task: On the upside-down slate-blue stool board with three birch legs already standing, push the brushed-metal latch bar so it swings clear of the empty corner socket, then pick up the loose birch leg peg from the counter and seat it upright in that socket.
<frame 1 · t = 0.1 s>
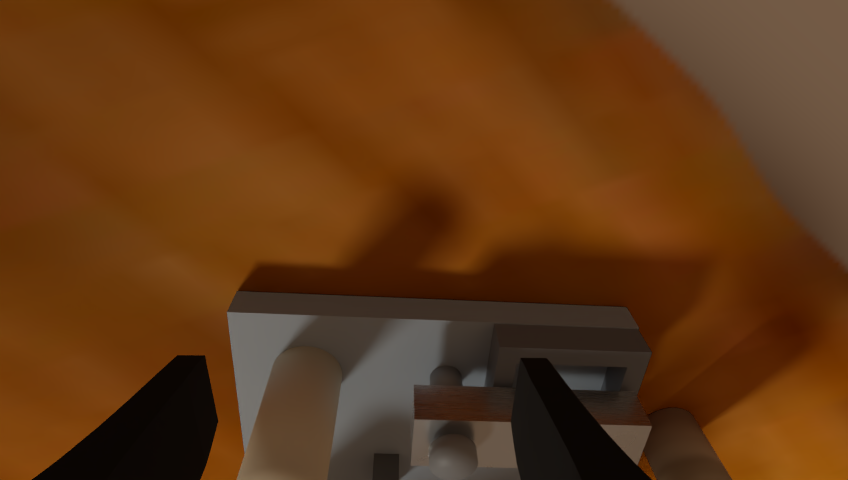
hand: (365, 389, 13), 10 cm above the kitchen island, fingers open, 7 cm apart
board: (423, 422, 27), on the kitchen island
leg peg: (665, 429, 28), on the kitchen island
latch bar: (524, 427, 22), point 4 cm above the kitchen island, hinge at 0.0°
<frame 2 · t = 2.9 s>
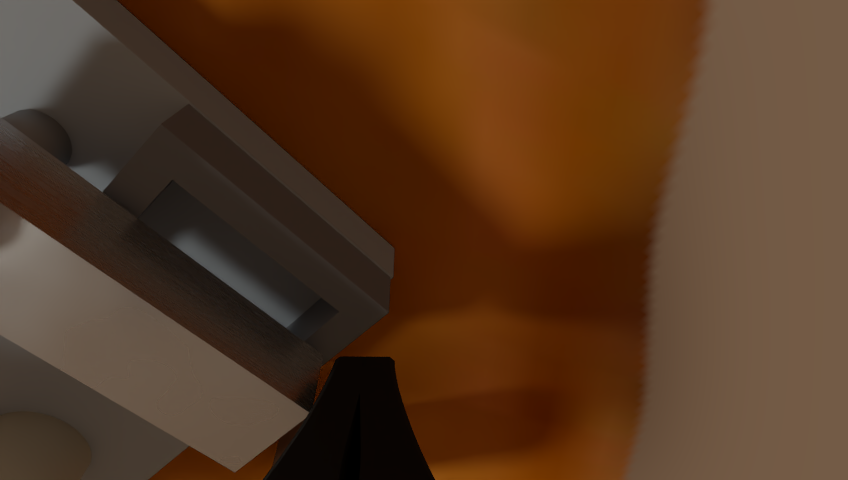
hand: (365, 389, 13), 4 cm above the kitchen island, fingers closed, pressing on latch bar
leg peg: (321, 449, 19), on the kitchen island
latch bar: (100, 292, 11), point 4 cm above the kitchen island, hinge at 0.0°, touching gripper
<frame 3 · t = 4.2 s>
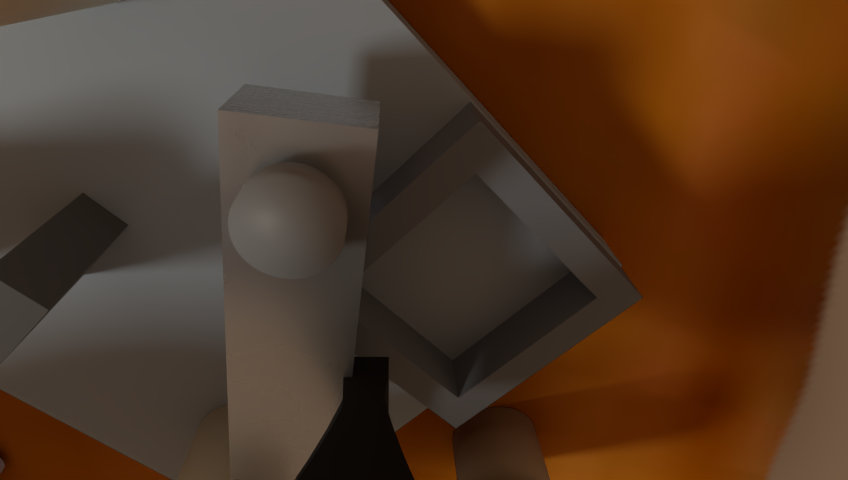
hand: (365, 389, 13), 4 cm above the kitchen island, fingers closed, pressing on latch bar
board: (201, 216, 15), on the kitchen island
leg peg: (493, 437, 20), on the kitchen island
latch bar: (298, 316, 11), point 4 cm above the kitchen island, hinge at 51.7°, touching gripper
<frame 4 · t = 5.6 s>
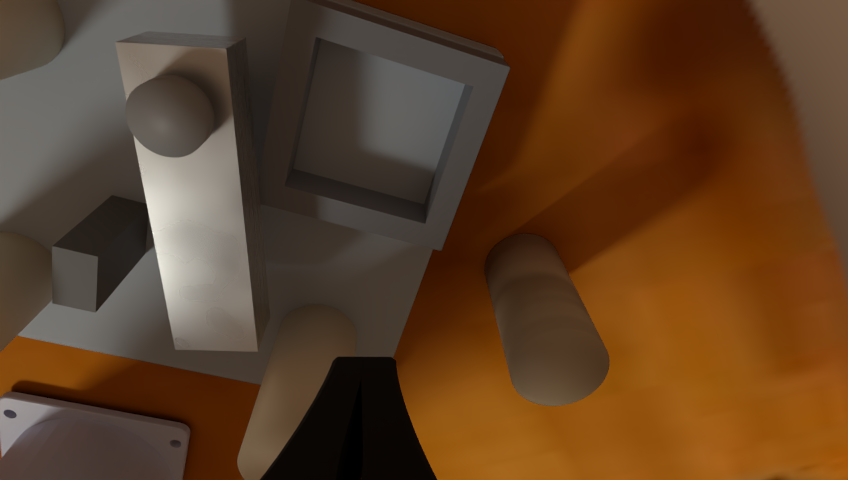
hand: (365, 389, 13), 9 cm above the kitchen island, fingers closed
board: (202, 183, 20), on the kitchen island
leg peg: (521, 266, 22), on the kitchen island
latch bar: (207, 206, 15), point 4 cm above the kitchen island, hinge at 76.1°
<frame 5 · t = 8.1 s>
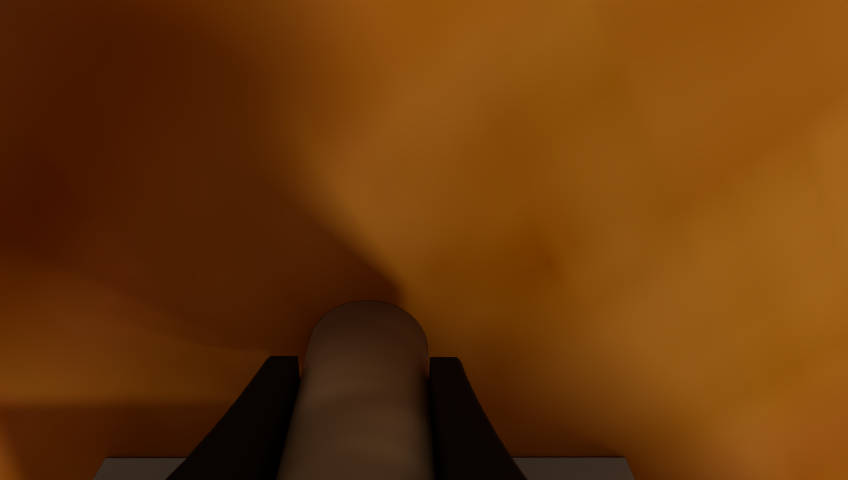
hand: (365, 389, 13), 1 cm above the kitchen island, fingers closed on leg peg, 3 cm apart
leg peg: (368, 349, 14), on the kitchen island, touching gripper
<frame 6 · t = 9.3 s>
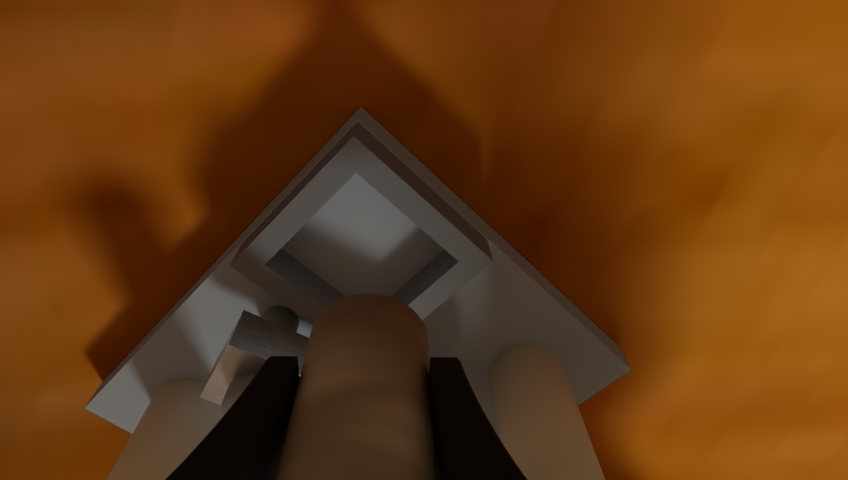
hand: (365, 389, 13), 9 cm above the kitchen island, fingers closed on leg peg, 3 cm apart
board: (359, 364, 24), on the kitchen island
leg peg: (369, 342, 14), point 7 cm above the kitchen island, touching gripper
latch bar: (344, 402, 19), point 4 cm above the kitchen island, hinge at 76.3°
when the fingers open (4 cm above the kitchen island, at t = 10.6 s): leg peg stays where it is, resting on board.
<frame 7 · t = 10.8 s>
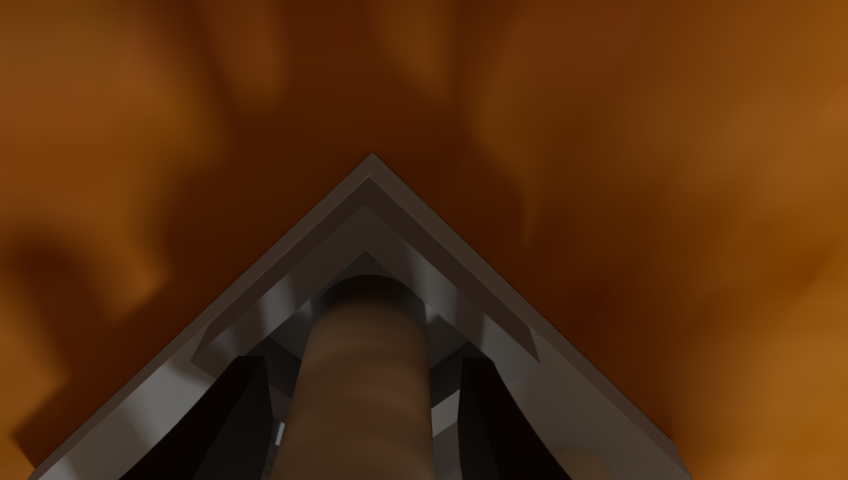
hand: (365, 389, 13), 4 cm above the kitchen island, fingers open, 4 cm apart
board: (355, 456, 19), on the kitchen island
leg peg: (370, 322, 15), point 2 cm above the kitchen island, touching board
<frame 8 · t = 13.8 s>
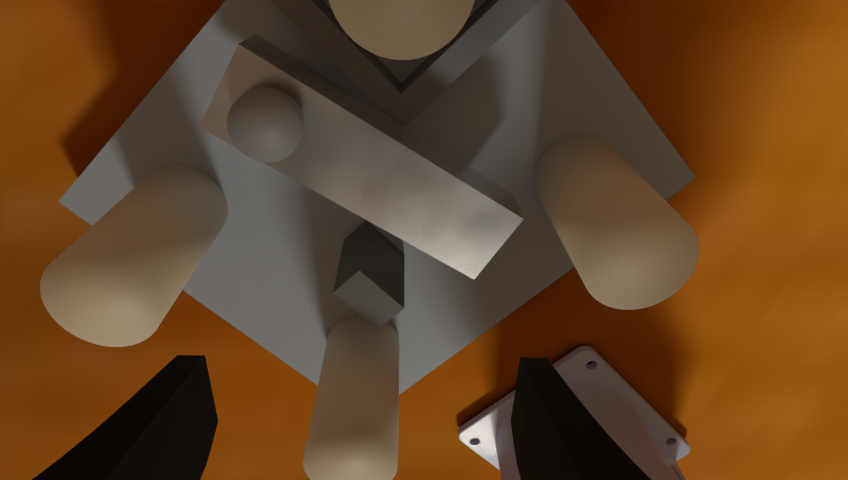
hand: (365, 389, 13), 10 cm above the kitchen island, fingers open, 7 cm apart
board: (381, 174, 21), on the kitchen island
latch bar: (371, 164, 16), point 4 cm above the kitchen island, hinge at 76.3°
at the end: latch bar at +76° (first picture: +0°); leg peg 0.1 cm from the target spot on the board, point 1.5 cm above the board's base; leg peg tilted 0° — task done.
